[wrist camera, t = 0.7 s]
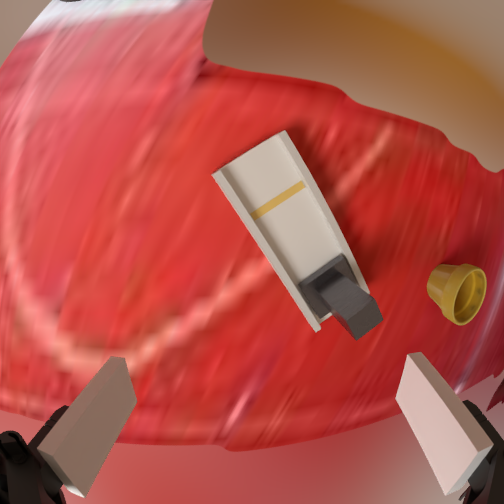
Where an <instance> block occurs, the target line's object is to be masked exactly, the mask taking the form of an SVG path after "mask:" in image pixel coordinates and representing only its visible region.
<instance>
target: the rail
mask: <svg viewBox="0 0 504 504" xmlns="http://www.w3.org/2000/svg"><path fill="white" fill-rule="evenodd" d="M211 175H212V176H213V178H214V179H215V181H216V182H217V184H218V185H219V187H220V188H221V190H222V191H223V193H224V194H225V196H226V197H227V199H228V200H229V202H230V203H231V205H232V206H233V208H234V209H235V211H236V212H237V214H238V215H239V217H240V218H241V220H242V221H243V223H244V224H245V226H246V228H247V229H248V231H249V232H250V234H251V235H252V237H253V238H254V240H255V241H256V243H257V244H258V246H259V247H260V249H261V250H262V252H263V253H264V255H265V256H266V258H267V259H268V261H269V262H270V264H271V265H272V267H273V269H274V270H275V272H276V273H277V275H278V276H279V278H280V279H281V281H282V282H283V284H284V285H285V287H286V288H287V290H288V291H289V293H290V295H291V296H292V298H293V299H294V301H295V302H296V304H297V305H298V307H299V308H300V310H301V311H302V313H303V315H304V316H305V318H306V319H307V321H308V322H309V324H310V325H311V327H312V328H313V329H314V331H315V332H317V331H319V330H320V329H321V327H320V325H319V324H320V323H321V322H323V321H324V320H326V319H327V318H328V317H330V316H331V315H332V314H331V313H328V314H327V315H326V316H324V317H323V318H321V319H320V318H319V317H318V316H317V315H316V313H315V311H314V310H313V308H312V307H311V305H310V303H309V302H308V300H307V298H306V297H305V295H304V294H303V292H302V290H301V289H300V287H299V286H298V284H299V283H300V282H302V281H303V280H305V279H306V278H308V277H309V276H310V275H312V274H313V273H315V272H316V271H318V270H319V269H320V268H322V267H323V266H325V265H326V264H328V263H329V262H330V261H332V260H333V259H334V258H336V257H337V256H339V255H340V256H342V257H343V258H344V259H345V261H346V263H347V265H348V267H349V269H350V271H351V273H352V275H353V277H354V280H355V282H356V284H357V286H359V287H360V288H361V289H363V290H364V291H365V292H367V293H368V294H369V293H370V292H369V289H368V287H367V285H366V283H365V280H364V278H363V276H362V274H361V271H360V269H359V267H358V265H357V263H356V261H355V259H354V256H353V254H352V252H351V250H350V248H349V246H348V244H347V242H346V240H345V238H344V236H343V234H342V232H341V230H340V228H339V226H338V224H337V222H336V220H335V218H334V216H333V214H332V212H331V210H330V208H329V206H328V204H327V203H326V201H325V199H324V197H323V195H322V193H321V191H320V190H319V188H318V186H317V184H316V182H315V180H314V179H313V177H312V175H311V173H310V172H309V170H308V168H307V166H306V165H305V163H304V161H303V159H302V158H301V156H300V154H299V152H298V151H297V149H296V147H295V146H294V144H293V142H292V141H291V139H290V137H289V136H288V134H287V132H286V131H285V130H284V131H281V132H279V133H277V134H275V135H273V136H272V137H270V138H268V139H267V140H265V141H263V142H262V143H260V144H258V145H257V146H255V147H253V148H252V149H250V150H248V151H247V152H245V153H243V154H242V155H240V156H239V157H237V158H235V159H234V160H232V161H231V162H229V163H228V164H226V165H225V166H223V167H221V168H220V169H218V170H217V171H215V172H214V173H212V174H211Z"/></svg>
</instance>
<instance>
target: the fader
mask: <svg viewBox="0 0 504 504" xmlns="http://www.w3.org/2000/svg"><path fill="white" fill-rule="evenodd" d="M298 286H299V287H300V289H301V290H302V292H303V294H304V295H305V297H306V298H307V300H308V302H309V303H310V305H311V307H312V308H313V310H314V311H315V313H316V315H317V316H318V317H319V318H320V319H321V318H323V317H324V316H326V315H327V314H328V313H331V314H332V315H333V316H334V317H335V318H336V319H337V320H338V321H339V322H340V323H341V324H342V326H343V327H344V328H345V329H346V330H347V331H348V332H349V333H350V334H351V335H352V337H353V338H354V339H355V340H356V341H357V340H358V339H359V338H361V337H362V336H363V335H365V334H366V333H367V332H369V331H370V330H371V329H372V328H374V327H375V326H376V325H378V324H379V323H380V322H381V321H383V318H382V315H381V313H380V310H379V308H378V305H377V303H376V301H375V299H374V298H373V297H372V296H370V295H369V294H368V293H367V292H365V291H364V290H363V289H361V288H360V287H359V286H357V284H356V282H355V280H354V277H353V275H352V273H351V271H350V269H349V267H348V265H347V263H346V261H345V259H344V258H343V257H342V256H340V255H339V256H337V257H336V258H334V259H333V260H332V261H330V262H329V263H328V264H326V265H325V266H323V267H322V268H320V269H319V270H318V271H316V272H315V273H313V274H312V275H310V276H309V277H308V278H306V279H305V280H303V281H302V282H300V283H299V284H298Z"/></svg>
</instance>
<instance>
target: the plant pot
mask: <svg viewBox="0 0 504 504" xmlns="http://www.w3.org/2000/svg"><path fill="white" fill-rule="evenodd" d="M486 284H487V282H486V276H485V273H484V272H483V270H482V269H480V268H478V267H476V266H473V265H470V264H462V265H460V266H456V265H446V264H441V265H438V266H437V267H436V268H435V269H434V270H433V271H432V273H431V275H430V277H429V279H428V283H427V292H428V295H429V296H430V297H431V298H432V299H433V300H434V301H435V302H436V304H437V305H438V306H439V307H440V308H441V309H442V313H443V315H444V316H445V317H446V318H448V319H449V320H450V321H452V322H454V323H455V324H457V325H464V324H466V323H468V322H469V321H470V320H472V319H473V317H474V316H475V315H476V314H477V312H478V311H479V309H480V307H481V305H482V303H483V300H484V297H485V293H486Z"/></svg>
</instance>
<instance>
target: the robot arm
mask: <svg viewBox="0 0 504 504" xmlns="http://www.w3.org/2000/svg"><path fill="white" fill-rule="evenodd" d="M61 1H65V2H74V1H80V0H61ZM395 399H396V400H397V402H398V404H399V406H400V408H401V410H402V411H403V413H404V415H405V417H406V419H407V421H408V422H409V424H410V426H411V428H412V430H413V432H414V434H415V436H416V437H417V439H418V441H419V443H420V445H421V447H422V449H423V451H424V453H425V455H426V457H427V459H428V461H429V463H430V465H431V467H432V469H433V471H434V473H435V476H436V478H437V480H438V482H439V484H440V486H441V488H442V490H443V492H444V494H445V495H448V494H450V493H452V492H455V491H457V490H459V489H461V488H462V486H463V485H464V484H465V483H466V482H467V480H468V482H469V484H470V486H469V487H468V488H467V490H466V491H465V492H464V493H463V494H462V495H461V496H460V498H459V500H461V499H462V498H463V497H464V496H465V498H464V501H463V504H504V440H503V439H502V438H501V436H500V435H499V434H498V432H497V431H496V430H495V428H494V427H493V426H492V425H491V423H490V422H489V421H488V420H487V418H486V417H485V416H484V415H482V412H481V411H480V409H479V408H478V407H477V406H476V405H475V404H473V403H472V402H470V401H468V400H465V401H461V400H460V399H459V397H458V396H457V395H456V394H455V392H454V391H453V390H452V389H451V387H450V386H449V385H448V384H447V382H446V381H445V380H444V379H443V378H442V376H441V375H440V374H439V373H438V372H437V370H436V369H435V368H434V367H433V366H432V364H431V363H430V362H429V361H428V360H427V358H426V357H425V356H424V355H423V354H422V353H421V352H417V353H412V354H408V355H407V359H406V363H405V367H404V370H403V374H402V378H401V381H400V385H399V388H398V392H397V395H396V398H395ZM136 403H137V399H136V396H135V392H134V389H133V386H132V382H131V379H130V376H129V372H128V368H127V365H126V361H125V358H120V357H113V356H111V357H110V358H109V360H108V361H107V362H106V363H105V364H104V365H103V367H102V368H101V369H100V370H99V371H98V373H97V374H96V375H95V376H94V377H93V379H92V380H91V381H90V382H89V383H88V385H87V386H86V387H85V388H84V389H83V391H82V392H81V393H80V394H79V396H78V397H77V398H76V399H75V400H74V402H73V403H72V404H71V405H70V407H69V406H66V405H64V406H63V407H61V408H59V409H58V410H56V411H55V412H54V413H53V415H52V416H51V417H50V420H48V421H47V422H46V423H45V426H43V427H42V428H41V429H40V430H39V432H38V433H37V434H36V435H35V437H34V438H33V439H32V440H31V442H30V443H29V444H28V445H27V444H26V443H25V441H24V439H23V438H22V436H21V435H20V434H19V433H18V432H15V431H6V432H3V433H2V434H0V504H66V501H65V498H64V494H63V492H62V490H61V489H60V488H61V486H62V485H63V484H64V485H65V487H66V488H67V489H68V490H69V491H70V492H72V493H75V494H77V495H79V496H82V497H84V498H85V497H86V495H87V493H88V492H89V490H90V488H91V486H92V484H93V482H94V480H95V478H96V476H97V474H98V473H99V471H100V469H101V467H102V465H103V463H104V461H105V459H106V458H107V456H108V454H109V452H110V450H111V448H112V446H113V445H114V443H115V441H116V439H117V437H118V436H119V434H120V432H121V430H122V428H123V426H124V425H125V423H126V421H127V419H128V417H129V416H130V414H131V412H132V410H133V408H134V407H135V405H136Z"/></svg>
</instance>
